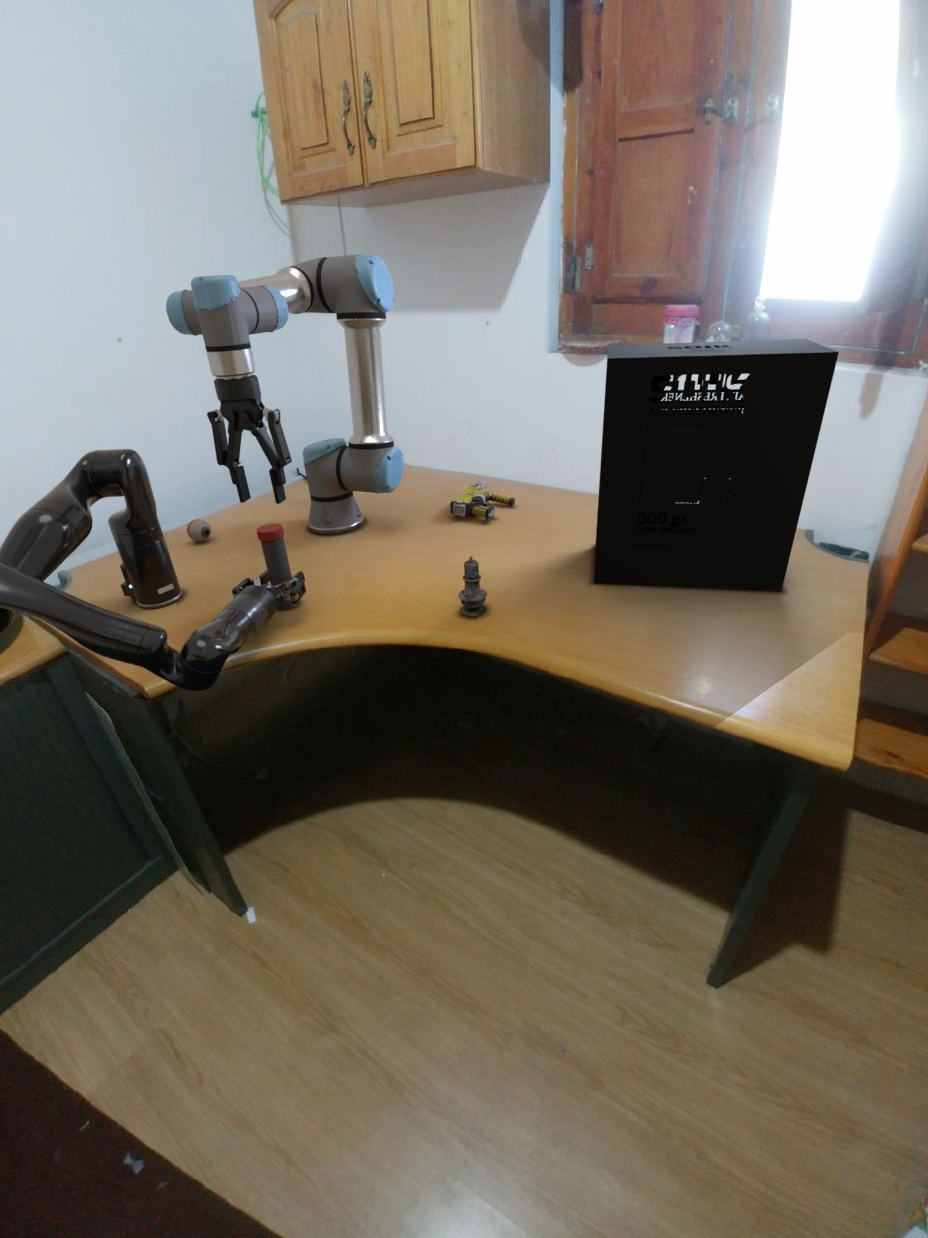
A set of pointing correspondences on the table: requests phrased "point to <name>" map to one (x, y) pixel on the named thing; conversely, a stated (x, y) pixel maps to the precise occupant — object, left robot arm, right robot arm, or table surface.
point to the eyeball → (199, 530)
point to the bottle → (278, 566)
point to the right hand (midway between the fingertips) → (263, 500)
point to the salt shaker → (472, 590)
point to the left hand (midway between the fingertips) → (285, 574)
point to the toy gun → (477, 502)
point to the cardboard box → (707, 461)
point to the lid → (270, 532)
